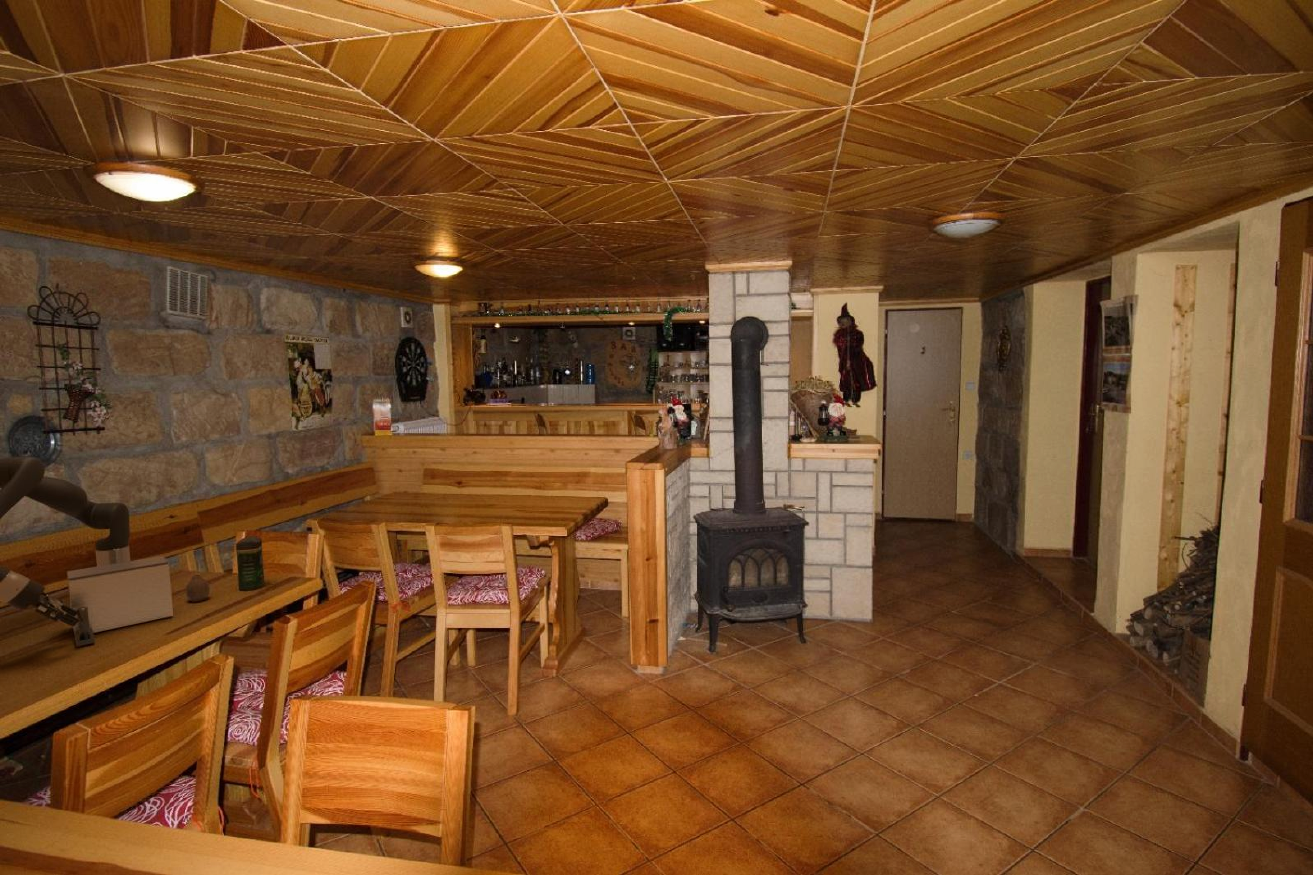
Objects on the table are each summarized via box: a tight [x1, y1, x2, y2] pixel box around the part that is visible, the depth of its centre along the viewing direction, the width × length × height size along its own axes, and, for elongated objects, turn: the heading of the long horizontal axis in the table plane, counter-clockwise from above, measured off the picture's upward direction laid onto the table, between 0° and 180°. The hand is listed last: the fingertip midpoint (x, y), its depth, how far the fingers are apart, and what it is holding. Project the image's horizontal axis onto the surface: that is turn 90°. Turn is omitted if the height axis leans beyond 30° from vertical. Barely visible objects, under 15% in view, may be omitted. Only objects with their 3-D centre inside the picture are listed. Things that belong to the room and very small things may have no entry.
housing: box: [66, 555, 169, 637], centre depth 209 cm, size 10×24×18 cm, turn 134°
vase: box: [185, 574, 211, 603], centre depth 229 cm, size 7×7×9 cm
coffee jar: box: [235, 535, 265, 591], centre depth 242 cm, size 10×8×19 cm
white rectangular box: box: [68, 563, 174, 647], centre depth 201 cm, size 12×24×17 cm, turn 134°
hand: (75, 619), depth 190 cm, fingers open, 8 cm apart
